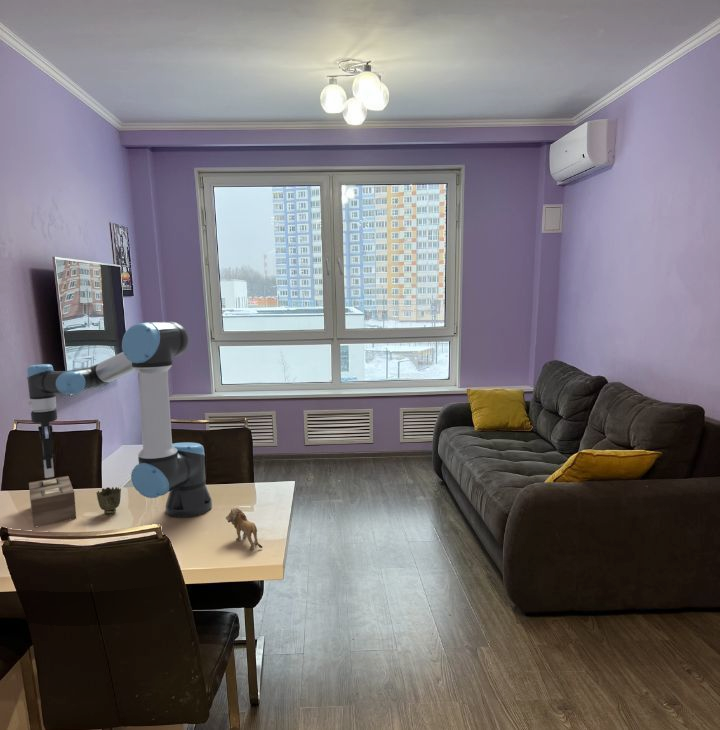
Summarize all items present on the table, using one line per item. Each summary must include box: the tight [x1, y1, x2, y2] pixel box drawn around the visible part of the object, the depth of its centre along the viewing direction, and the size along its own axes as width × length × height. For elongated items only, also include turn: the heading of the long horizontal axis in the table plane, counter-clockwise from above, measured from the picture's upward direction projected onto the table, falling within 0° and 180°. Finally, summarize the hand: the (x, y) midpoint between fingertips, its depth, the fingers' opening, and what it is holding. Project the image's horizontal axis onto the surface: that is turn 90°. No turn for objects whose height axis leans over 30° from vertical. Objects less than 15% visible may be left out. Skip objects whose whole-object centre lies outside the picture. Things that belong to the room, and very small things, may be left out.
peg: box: [43, 478, 57, 486], centre depth 179 cm, size 4×4×8 cm
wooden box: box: [28, 475, 77, 528], centre depth 175 cm, size 20×12×9 cm, turn 34°
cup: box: [95, 486, 122, 516], centre depth 174 cm, size 8×7×8 cm
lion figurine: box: [225, 507, 263, 551], centre depth 152 cm, size 15×5×9 cm, turn 50°
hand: (49, 476), depth 178 cm, fingers closed
